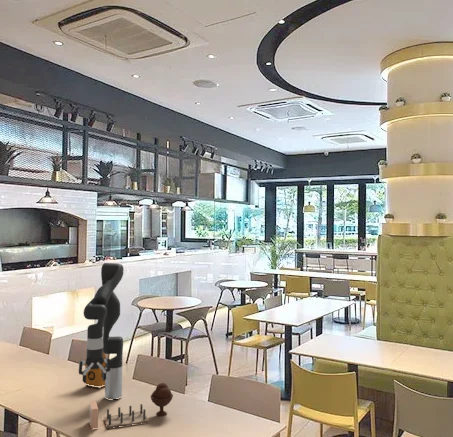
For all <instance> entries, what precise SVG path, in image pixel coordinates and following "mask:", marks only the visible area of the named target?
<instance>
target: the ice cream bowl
mask: <svg viewBox="0 0 453 437" xmlns="http://www.w3.org/2000/svg"><path fill="white" fill-rule="evenodd" d="M173 396H174V394H173V393H172V391H171V389H169V387H168V385H167V383H165V382H161V383H158V384H157V386H156V387H155V389H154V391H152V393H151V395H150V399H151V402H152V403H153V404H154V405H155V406H157V407H159V410H158V411H157V412H156V413H155V415H156V416H157V417H165V416H168V412H166V411H165V410H164V407H167V406H168V405H169V404H170V403H171V401H172V400H173Z"/></svg>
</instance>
